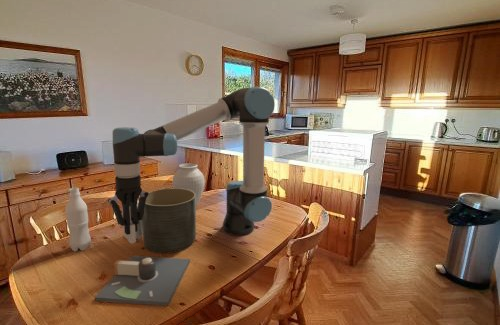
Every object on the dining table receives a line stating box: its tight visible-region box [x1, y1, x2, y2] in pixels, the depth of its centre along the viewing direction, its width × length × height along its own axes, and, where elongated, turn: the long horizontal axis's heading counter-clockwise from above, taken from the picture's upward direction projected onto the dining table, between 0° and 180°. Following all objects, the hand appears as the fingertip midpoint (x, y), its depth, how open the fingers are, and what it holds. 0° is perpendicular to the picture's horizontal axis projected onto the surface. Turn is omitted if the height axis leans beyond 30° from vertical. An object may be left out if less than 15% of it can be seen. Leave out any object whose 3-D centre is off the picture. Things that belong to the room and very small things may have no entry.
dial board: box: [94, 255, 191, 307], centre depth 86 cm, size 22×22×1 cm
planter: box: [142, 187, 197, 254], centre depth 110 cm, size 22×22×20 cm
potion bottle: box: [121, 200, 143, 240], centre depth 113 cm, size 8×8×18 cm
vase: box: [171, 162, 206, 207], centre depth 146 cm, size 18×18×25 cm
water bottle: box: [64, 187, 92, 252], centre depth 101 cm, size 7×7×25 cm
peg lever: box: [113, 258, 156, 280], centre depth 86 cm, size 13×5×6 cm, turn 86°
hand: (131, 241), depth 89 cm, fingers closed
